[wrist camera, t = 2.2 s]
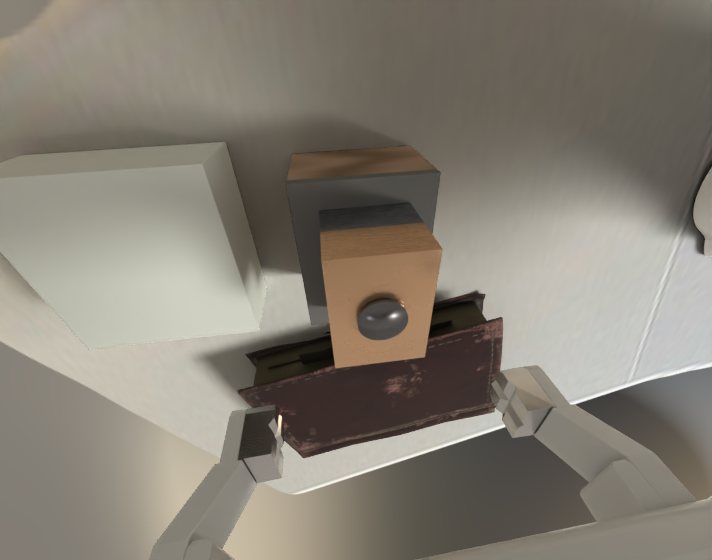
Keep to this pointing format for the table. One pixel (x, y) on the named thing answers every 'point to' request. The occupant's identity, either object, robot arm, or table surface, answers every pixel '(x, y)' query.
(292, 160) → the walnut stand
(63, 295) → the grey stand
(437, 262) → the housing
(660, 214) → the table surface
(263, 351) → the diary
